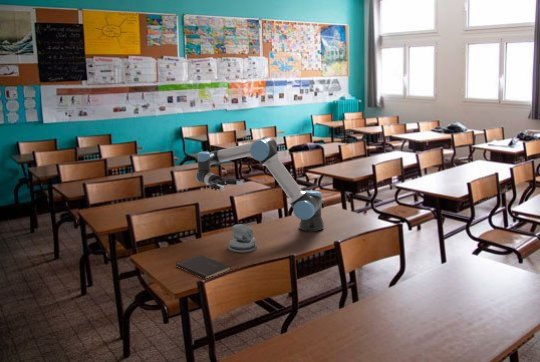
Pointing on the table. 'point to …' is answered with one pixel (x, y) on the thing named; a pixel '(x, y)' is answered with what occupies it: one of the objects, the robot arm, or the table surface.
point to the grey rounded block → (242, 232)
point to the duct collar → (242, 246)
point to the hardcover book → (203, 266)
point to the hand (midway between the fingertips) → (234, 186)
